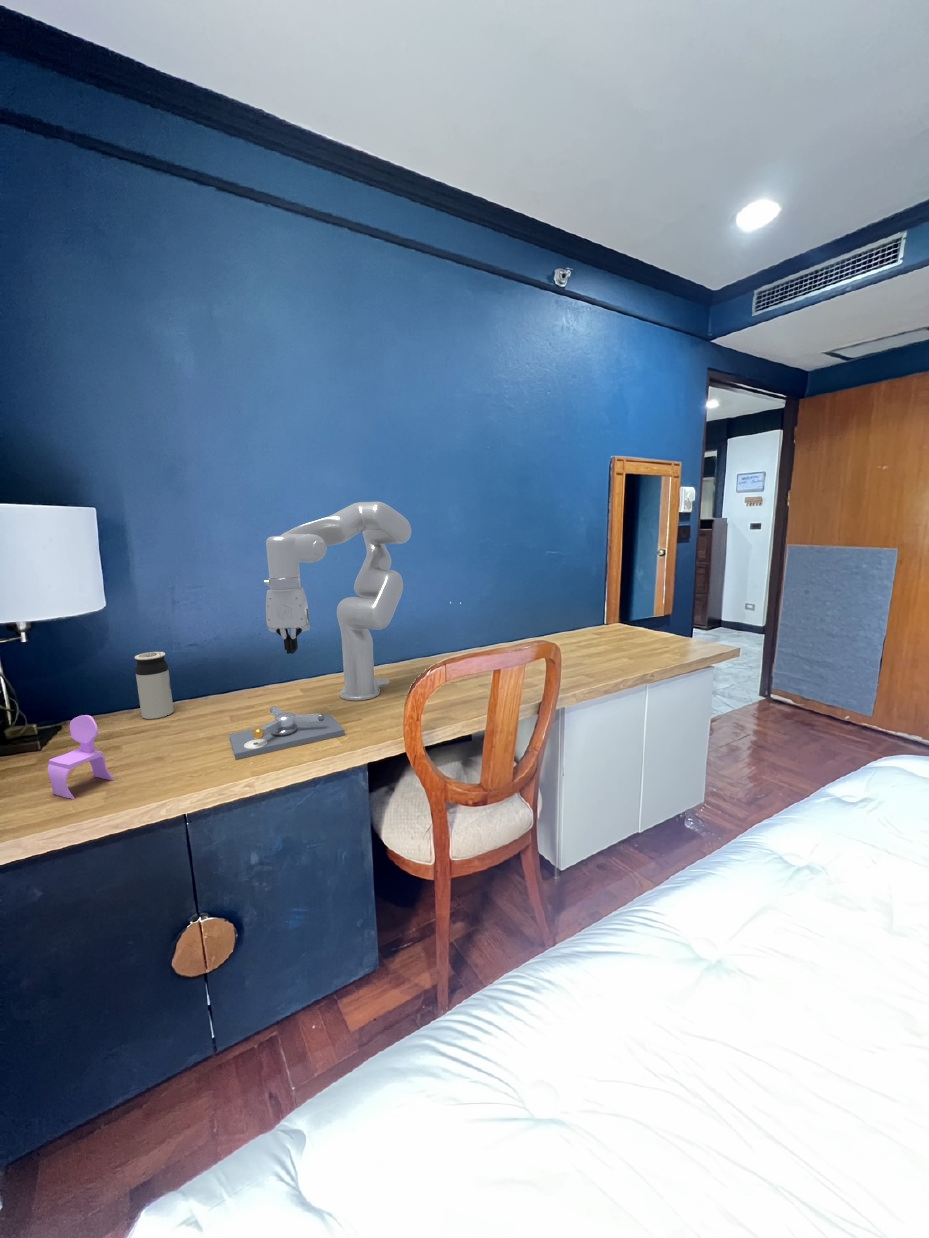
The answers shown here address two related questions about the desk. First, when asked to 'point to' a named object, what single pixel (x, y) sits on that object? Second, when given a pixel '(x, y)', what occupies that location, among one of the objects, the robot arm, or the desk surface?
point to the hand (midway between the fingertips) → (291, 652)
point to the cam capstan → (285, 723)
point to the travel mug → (153, 685)
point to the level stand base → (284, 738)
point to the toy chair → (78, 756)
